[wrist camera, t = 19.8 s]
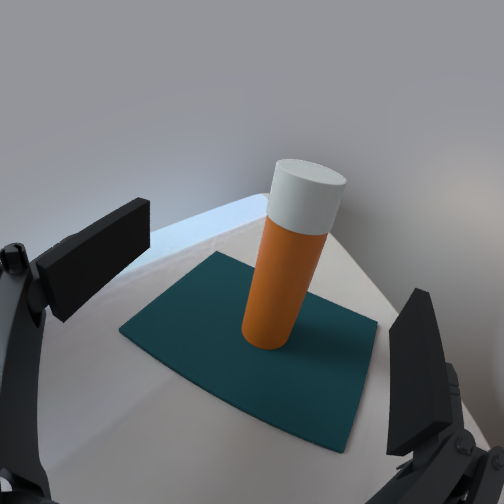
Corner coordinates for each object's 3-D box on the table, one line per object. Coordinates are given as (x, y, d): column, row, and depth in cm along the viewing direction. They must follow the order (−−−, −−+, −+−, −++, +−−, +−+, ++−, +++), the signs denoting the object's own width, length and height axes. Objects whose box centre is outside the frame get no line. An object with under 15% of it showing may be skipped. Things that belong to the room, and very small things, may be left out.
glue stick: (230, 335, 21) (264, 165, 14) (254, 306, 24) (290, 155, 17) (278, 359, 20) (339, 191, 13) (296, 326, 23) (351, 175, 16)
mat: (119, 331, 20) (118, 328, 19) (216, 253, 31) (216, 250, 30) (340, 453, 14) (343, 451, 14) (376, 324, 25) (377, 321, 25)
